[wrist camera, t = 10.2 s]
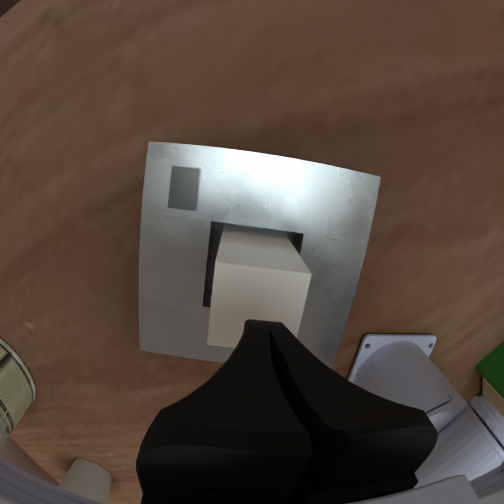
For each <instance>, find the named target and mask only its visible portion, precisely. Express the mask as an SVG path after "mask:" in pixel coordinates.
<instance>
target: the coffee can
mask: <svg viewBox="0 0 504 504" xmlns="http://www.w3.org/2000/svg"><path fill="white" fill-rule="evenodd" d="M35 397H36V387H35V384H34V381H33V378H32V376H31V374H30V372H29V370H28V369H27V367H26V366H25V364H24V363H23V361H22V360H21V358H20V357H19V356H18V354H17V353H16V352H15V351H14V350H13V349H12V348H11V347H10V346H9V345H8V344H7V343H6V342H5V341H4V340H2V339H1V338H0V451H1V449H2V447H3V446H4V444H5V442H6V440H7V439H8V438H9V436H10V434H11V433H12V431H13V430H14V428H15V427H16V425H17V423H18V422H19V420H20V419H21V417H22V416H23V414H24V413H25V411H26V410H27V408H28V407H29V405H30V404H31V403H32V402H33V401H34V399H35Z"/></svg>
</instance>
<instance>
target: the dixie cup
mask: <svg viewBox="0 0 504 504" xmlns="http://www.w3.org/2000/svg"><path fill="white" fill-rule="evenodd" d="M111 480H112V477H111V475H110V474H109V472H108V471H106V470H105V469H104V468H102V467H101V466H99V465H97V464H95V463H93V462H91V461H88V460H84V459H76V460H75V461H74V463H73V464H72V466H71V467H70V469H69V470H68V472H67V474H66V475H65V477H64V478H63V480H62V481H61V483H60V485H59V486H58V487H59V488H61V489H63V490H66V491H68V492H71V493H74V494H76V495H79V496H82V497H85V498H87V499H90V500H93V501H96V502H100V503H103V504H108V501H109V494H110V486H111Z"/></svg>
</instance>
